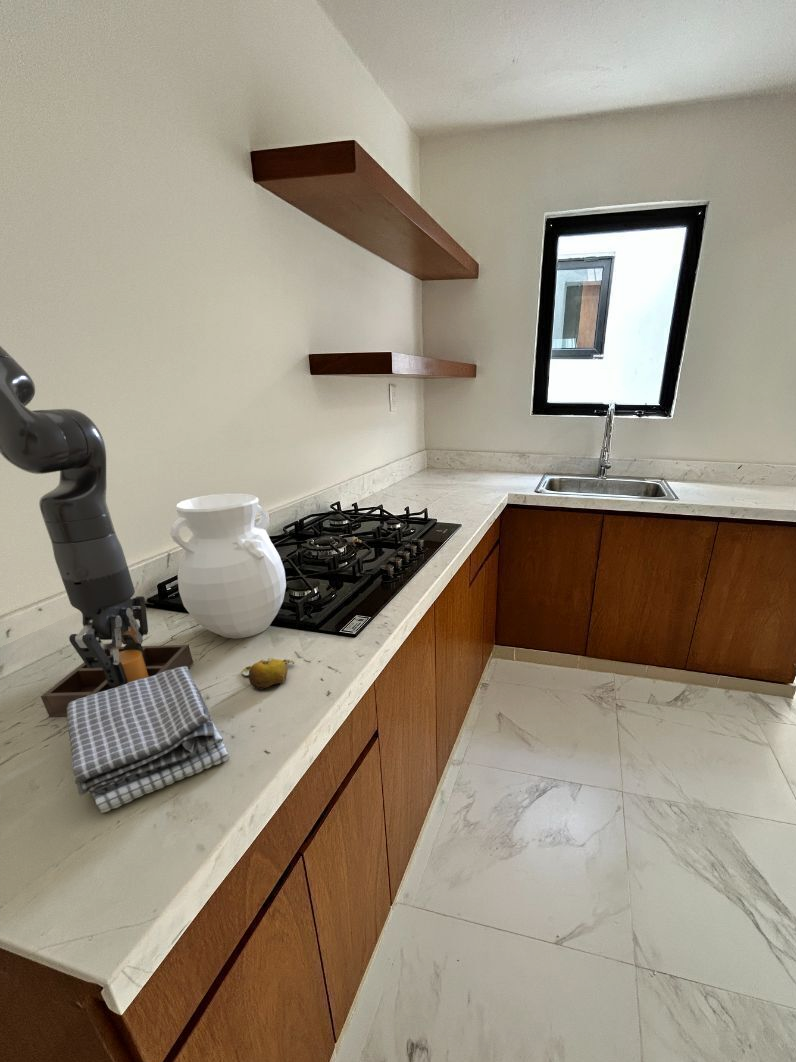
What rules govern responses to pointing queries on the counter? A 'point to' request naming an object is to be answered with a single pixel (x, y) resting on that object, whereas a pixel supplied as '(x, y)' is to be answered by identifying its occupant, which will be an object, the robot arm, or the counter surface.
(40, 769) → the counter surface
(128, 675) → the orange cylinder
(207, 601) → the white vase
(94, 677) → the grid
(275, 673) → the yellow rounded lumpy piece
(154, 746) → the towel
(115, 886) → the counter surface
